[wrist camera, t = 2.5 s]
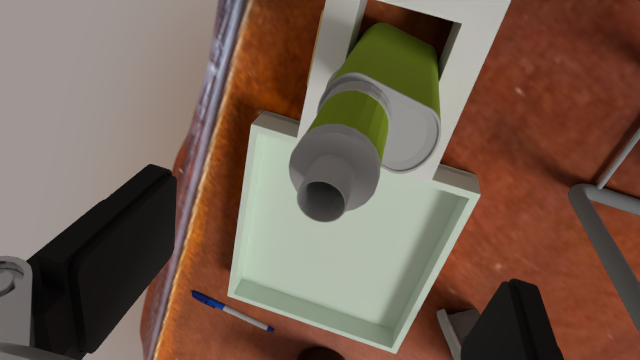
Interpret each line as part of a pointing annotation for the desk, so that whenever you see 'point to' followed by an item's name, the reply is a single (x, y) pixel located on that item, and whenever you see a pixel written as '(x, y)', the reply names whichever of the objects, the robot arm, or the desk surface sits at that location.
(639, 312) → the newton's cradle
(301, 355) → the supplement bottle
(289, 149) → the parts tray
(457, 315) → the electrical switch
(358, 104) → the vape
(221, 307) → the ballpoint pen
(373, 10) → the desk surface
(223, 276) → the desk surface
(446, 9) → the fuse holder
